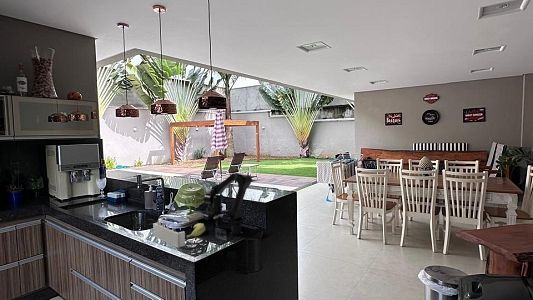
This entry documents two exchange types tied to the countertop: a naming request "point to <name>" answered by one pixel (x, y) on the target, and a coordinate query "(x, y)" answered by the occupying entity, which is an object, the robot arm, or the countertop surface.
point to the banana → (197, 230)
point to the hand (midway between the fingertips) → (217, 227)
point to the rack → (168, 235)
